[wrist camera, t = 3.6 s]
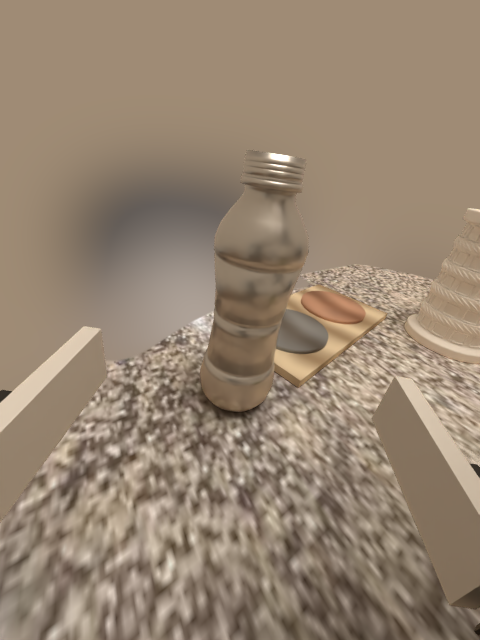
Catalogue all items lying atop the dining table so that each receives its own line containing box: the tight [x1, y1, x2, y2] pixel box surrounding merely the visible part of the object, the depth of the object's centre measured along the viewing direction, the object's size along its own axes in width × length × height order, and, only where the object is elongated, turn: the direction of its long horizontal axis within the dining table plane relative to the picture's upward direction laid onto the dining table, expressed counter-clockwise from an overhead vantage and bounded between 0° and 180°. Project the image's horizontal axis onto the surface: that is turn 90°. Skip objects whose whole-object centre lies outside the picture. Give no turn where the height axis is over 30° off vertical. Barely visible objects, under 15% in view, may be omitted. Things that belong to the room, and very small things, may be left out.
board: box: [274, 285, 387, 388], centre depth 41 cm, size 26×13×2 cm, turn 136°
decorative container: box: [404, 208, 480, 364], centre depth 38 cm, size 12×12×18 cm
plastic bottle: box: [200, 150, 309, 412], centre depth 22 cm, size 6×7×20 cm
